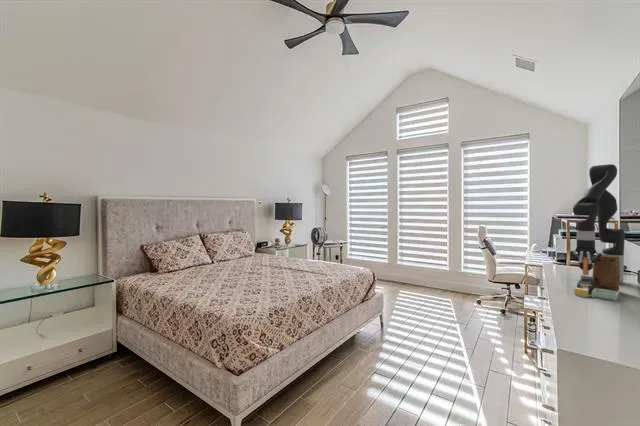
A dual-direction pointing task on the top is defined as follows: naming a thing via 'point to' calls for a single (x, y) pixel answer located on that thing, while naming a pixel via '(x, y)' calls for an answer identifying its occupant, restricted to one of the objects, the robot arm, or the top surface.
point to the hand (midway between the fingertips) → (585, 269)
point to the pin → (585, 266)
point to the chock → (581, 292)
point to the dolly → (586, 283)
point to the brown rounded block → (607, 273)
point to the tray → (605, 294)
